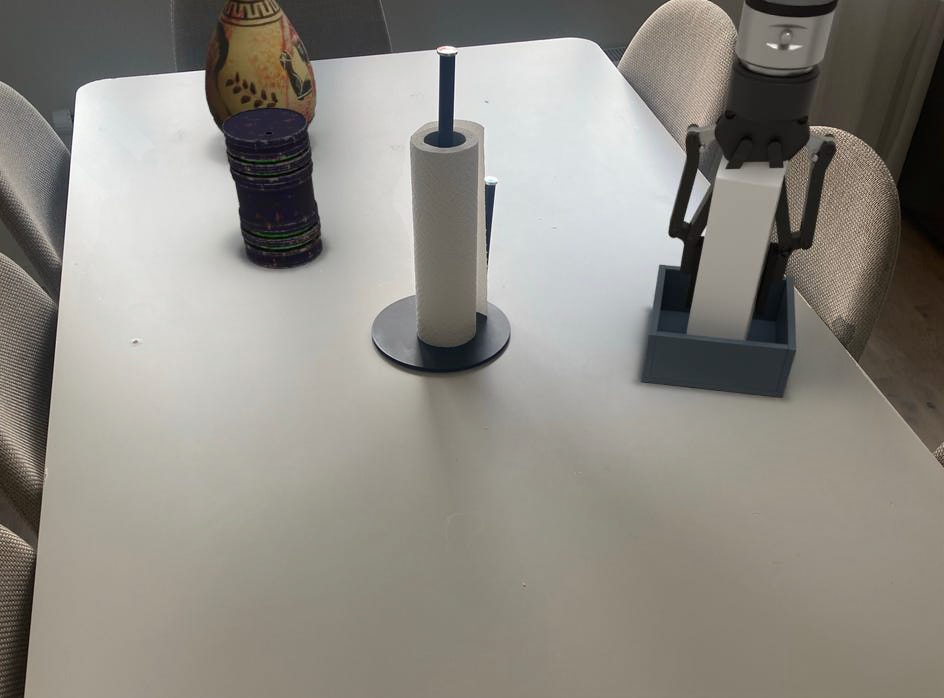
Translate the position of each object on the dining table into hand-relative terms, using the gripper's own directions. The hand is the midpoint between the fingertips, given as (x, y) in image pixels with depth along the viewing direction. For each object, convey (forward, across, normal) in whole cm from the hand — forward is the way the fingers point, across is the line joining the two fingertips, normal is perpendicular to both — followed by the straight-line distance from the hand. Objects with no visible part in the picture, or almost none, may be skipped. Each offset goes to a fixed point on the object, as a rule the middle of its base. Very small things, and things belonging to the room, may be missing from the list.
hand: (723, 304), depth 99 cm
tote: (+6, 0, 0) cm, 6 cm away
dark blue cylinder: (+6, -54, +13) cm, 56 cm away
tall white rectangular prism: (+5, 0, 0) cm, 5 cm away
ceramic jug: (+6, -66, +42) cm, 78 cm away
